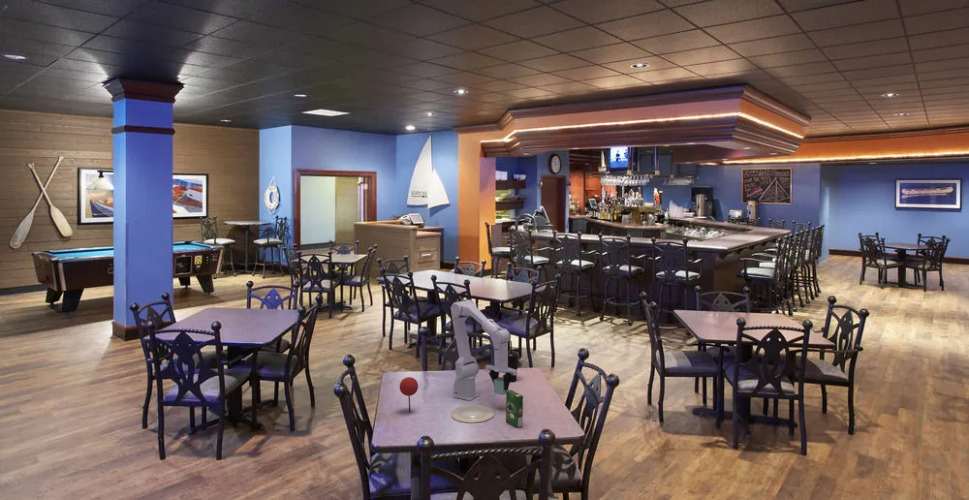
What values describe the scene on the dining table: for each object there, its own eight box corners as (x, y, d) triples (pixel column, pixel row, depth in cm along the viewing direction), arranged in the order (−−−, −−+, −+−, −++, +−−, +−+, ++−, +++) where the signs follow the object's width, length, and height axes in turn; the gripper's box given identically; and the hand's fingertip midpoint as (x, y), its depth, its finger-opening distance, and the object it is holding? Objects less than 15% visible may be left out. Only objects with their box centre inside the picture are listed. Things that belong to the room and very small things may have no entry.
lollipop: (421, 409, 252) (420, 375, 250) (413, 416, 245) (412, 381, 243) (405, 407, 254) (404, 374, 253) (397, 414, 247) (396, 379, 246)
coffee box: (523, 426, 232) (523, 394, 231) (517, 428, 231) (517, 396, 229) (511, 420, 239) (511, 389, 238) (505, 422, 237) (505, 390, 236)
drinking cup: (502, 378, 293) (502, 339, 291) (517, 377, 293) (517, 338, 291) (504, 383, 285) (504, 343, 283) (520, 382, 286) (519, 342, 284)
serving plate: (442, 417, 243) (442, 415, 243) (466, 404, 258) (466, 402, 258) (479, 426, 233) (479, 424, 233) (502, 411, 248) (502, 409, 248)
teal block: (494, 393, 250) (493, 379, 250) (499, 390, 254) (499, 376, 254) (503, 395, 248) (503, 381, 247) (508, 392, 252) (508, 378, 251)
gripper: (481, 357, 250) (481, 388, 251) (511, 362, 242) (511, 394, 244) (490, 353, 256) (490, 383, 257) (519, 358, 248) (519, 389, 250)
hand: (501, 388), depth 251 cm, fingers closed on teal block, 4 cm apart
